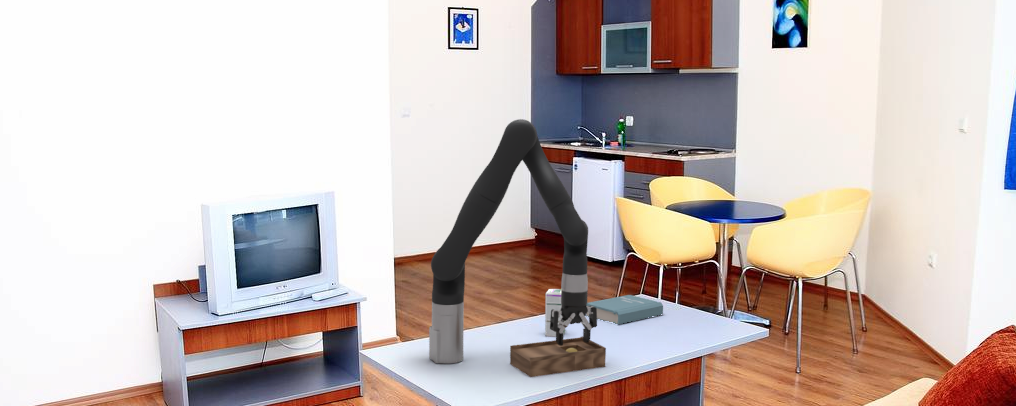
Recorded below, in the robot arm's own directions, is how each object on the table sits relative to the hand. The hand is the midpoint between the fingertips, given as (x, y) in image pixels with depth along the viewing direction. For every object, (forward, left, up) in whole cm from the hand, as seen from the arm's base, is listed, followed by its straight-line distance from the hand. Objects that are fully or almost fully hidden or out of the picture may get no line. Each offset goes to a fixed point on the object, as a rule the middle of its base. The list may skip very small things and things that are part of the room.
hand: (573, 343), depth 257 cm
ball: (0, 0, -4) cm, 4 cm away
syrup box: (+10, +30, -6) cm, 32 cm away
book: (+44, +42, -7) cm, 62 cm away
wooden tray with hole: (-5, 0, -6) cm, 8 cm away
